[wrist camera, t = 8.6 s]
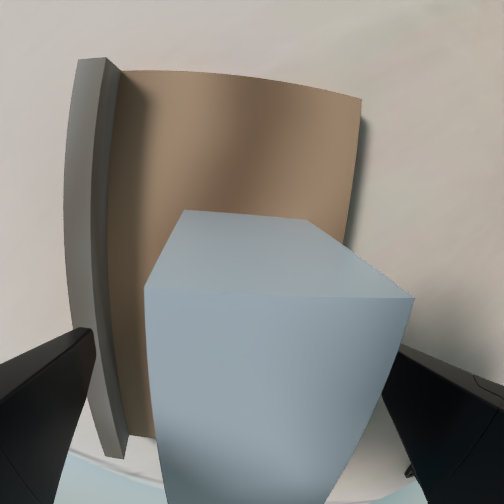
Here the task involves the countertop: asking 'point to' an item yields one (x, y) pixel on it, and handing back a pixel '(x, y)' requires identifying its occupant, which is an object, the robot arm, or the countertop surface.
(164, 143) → the shelf board
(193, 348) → the carton
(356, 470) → the countertop surface
